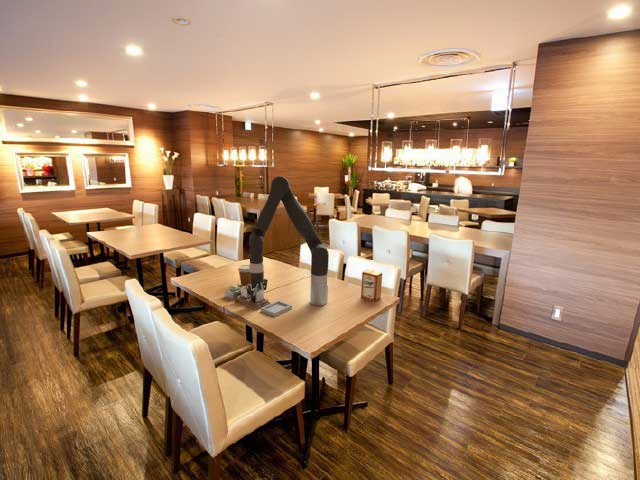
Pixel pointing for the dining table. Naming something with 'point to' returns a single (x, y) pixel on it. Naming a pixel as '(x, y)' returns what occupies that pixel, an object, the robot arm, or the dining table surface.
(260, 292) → the block
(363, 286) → the baking soda box
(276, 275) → the dining table surface
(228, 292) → the grey button housing
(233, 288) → the button
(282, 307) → the tray
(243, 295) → the block
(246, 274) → the disposable coffee cup
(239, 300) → the frame
